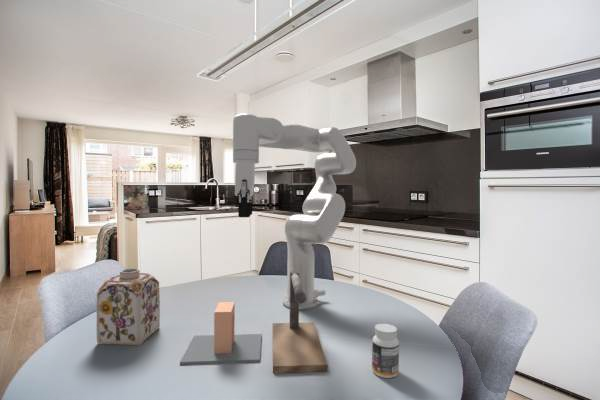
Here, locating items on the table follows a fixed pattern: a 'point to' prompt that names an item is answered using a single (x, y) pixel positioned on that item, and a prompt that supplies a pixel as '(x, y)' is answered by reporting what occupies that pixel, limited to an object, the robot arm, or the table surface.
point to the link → (224, 327)
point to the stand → (297, 338)
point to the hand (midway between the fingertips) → (245, 215)
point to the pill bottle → (385, 351)
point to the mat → (242, 351)
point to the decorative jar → (128, 308)
